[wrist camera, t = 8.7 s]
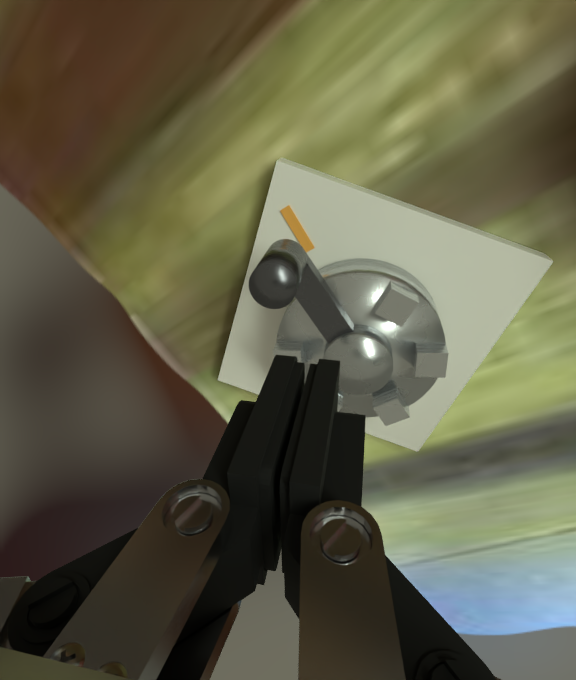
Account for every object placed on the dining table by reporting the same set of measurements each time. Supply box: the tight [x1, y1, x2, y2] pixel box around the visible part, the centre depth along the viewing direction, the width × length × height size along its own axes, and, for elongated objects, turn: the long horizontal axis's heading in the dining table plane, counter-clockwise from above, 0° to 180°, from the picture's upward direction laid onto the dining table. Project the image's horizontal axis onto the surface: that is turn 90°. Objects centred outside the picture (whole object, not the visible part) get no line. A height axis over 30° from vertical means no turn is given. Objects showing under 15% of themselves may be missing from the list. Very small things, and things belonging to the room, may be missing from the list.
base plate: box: [218, 157, 554, 452], centre depth 30 cm, size 18×18×2 cm
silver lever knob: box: [249, 239, 449, 426], centre depth 26 cm, size 15×11×8 cm
